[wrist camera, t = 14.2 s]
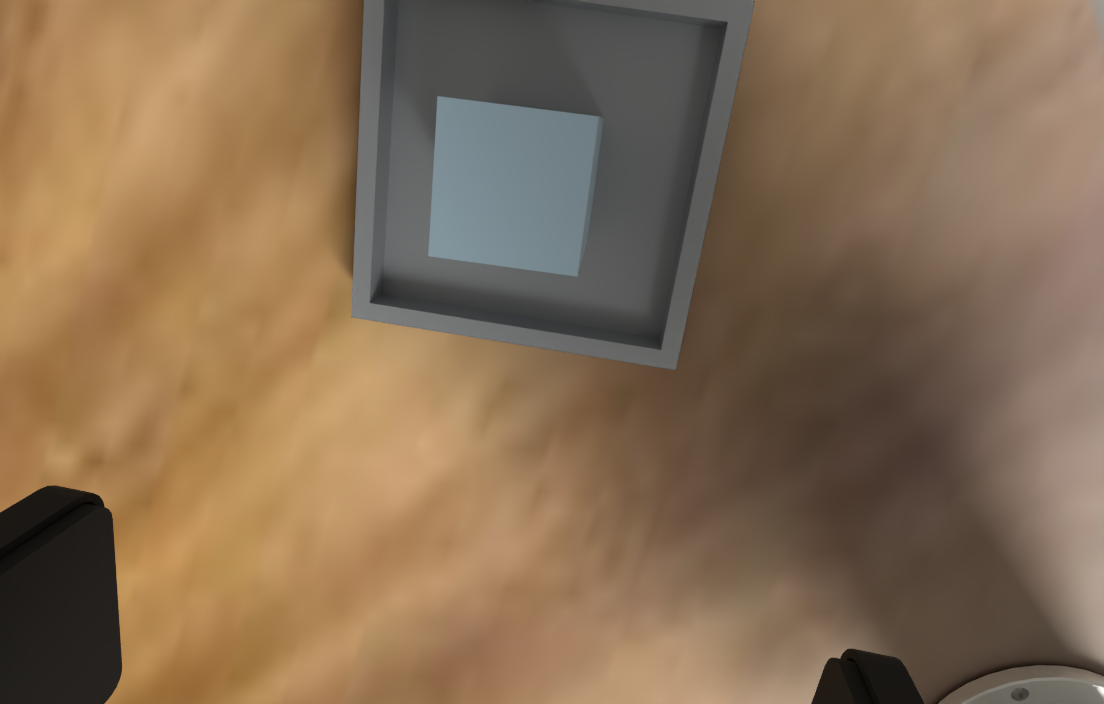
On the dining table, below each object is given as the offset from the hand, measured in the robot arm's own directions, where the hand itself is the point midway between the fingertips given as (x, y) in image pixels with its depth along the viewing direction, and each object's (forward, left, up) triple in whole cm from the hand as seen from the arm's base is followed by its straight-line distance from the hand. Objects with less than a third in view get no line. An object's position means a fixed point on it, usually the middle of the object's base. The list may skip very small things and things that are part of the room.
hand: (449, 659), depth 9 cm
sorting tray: (+2, -4, -24) cm, 24 cm away
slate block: (+2, -4, -23) cm, 23 cm away
